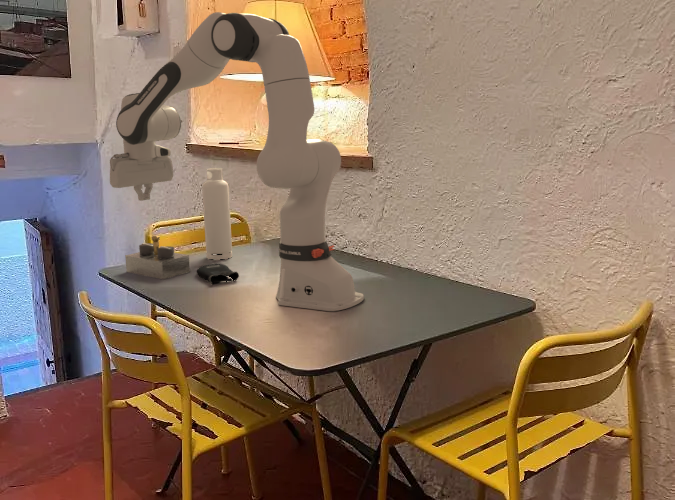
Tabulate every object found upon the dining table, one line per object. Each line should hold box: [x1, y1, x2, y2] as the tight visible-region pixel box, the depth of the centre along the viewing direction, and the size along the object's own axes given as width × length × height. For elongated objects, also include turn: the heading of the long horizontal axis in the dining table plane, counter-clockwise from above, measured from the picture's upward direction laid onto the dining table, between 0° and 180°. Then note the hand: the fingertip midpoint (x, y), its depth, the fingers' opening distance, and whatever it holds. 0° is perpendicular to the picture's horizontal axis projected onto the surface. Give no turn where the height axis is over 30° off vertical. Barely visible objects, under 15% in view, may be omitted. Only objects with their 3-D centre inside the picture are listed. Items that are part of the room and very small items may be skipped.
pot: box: [151, 235, 160, 255], centre depth 200 cm, size 2×2×5 cm
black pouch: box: [196, 263, 240, 285], centre depth 195 cm, size 9×6×15 cm
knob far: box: [138, 242, 154, 255], centre depth 203 cm, size 5×5×7 cm
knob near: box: [157, 245, 175, 259], centre depth 199 cm, size 5×5×7 cm
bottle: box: [201, 167, 233, 261], centre depth 216 cm, size 8×8×28 cm
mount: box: [125, 251, 191, 280], centre depth 201 cm, size 16×10×5 cm, turn 54°
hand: (144, 199), depth 199 cm, fingers closed
